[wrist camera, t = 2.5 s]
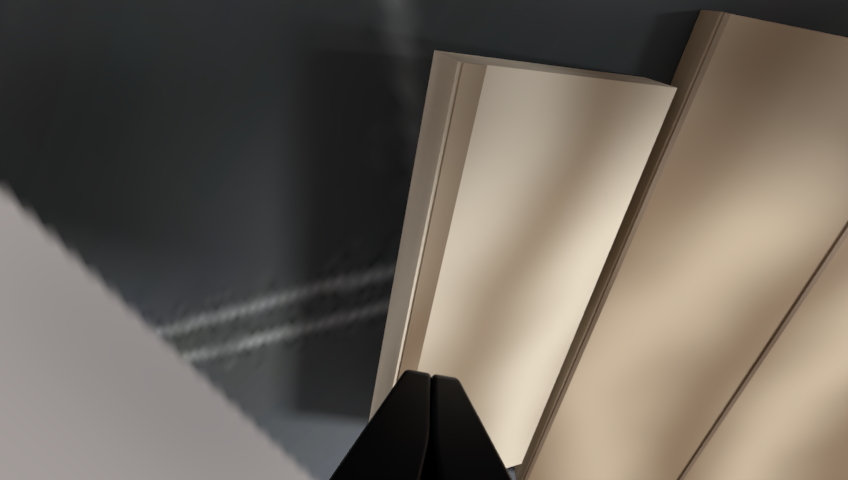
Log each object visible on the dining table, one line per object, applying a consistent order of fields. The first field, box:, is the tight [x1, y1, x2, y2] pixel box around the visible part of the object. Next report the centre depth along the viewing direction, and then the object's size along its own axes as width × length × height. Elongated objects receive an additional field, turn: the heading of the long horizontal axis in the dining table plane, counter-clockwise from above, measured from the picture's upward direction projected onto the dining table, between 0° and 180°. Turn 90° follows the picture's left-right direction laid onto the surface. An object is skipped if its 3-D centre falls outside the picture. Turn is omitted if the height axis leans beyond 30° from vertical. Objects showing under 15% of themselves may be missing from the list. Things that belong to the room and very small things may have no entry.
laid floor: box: [515, 10, 848, 480], centre depth 18 cm, size 13×20×1 cm, turn 170°
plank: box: [368, 50, 677, 468], centre depth 16 cm, size 7×16×1 cm, turn 170°
